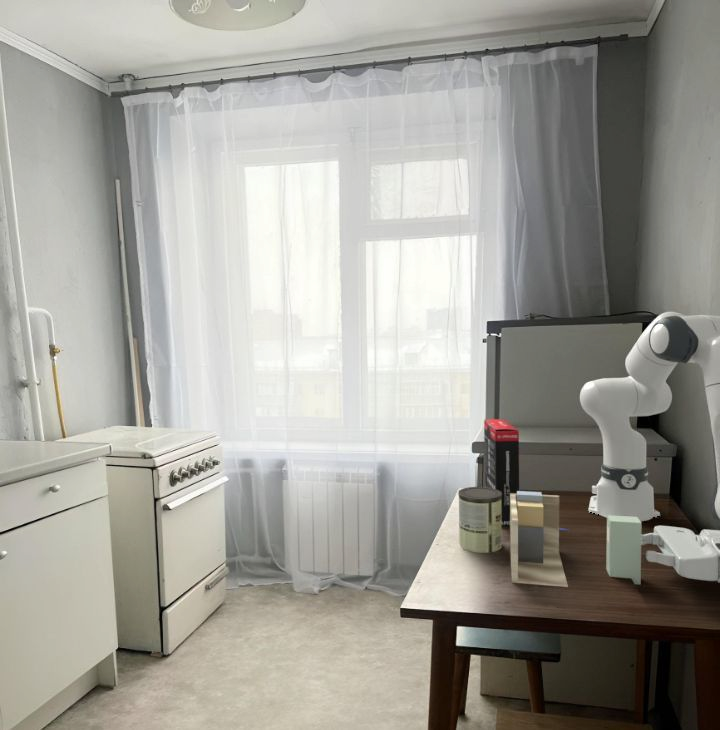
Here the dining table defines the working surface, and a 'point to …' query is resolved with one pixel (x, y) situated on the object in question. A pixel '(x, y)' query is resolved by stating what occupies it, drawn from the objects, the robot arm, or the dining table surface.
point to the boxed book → (624, 547)
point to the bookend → (530, 544)
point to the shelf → (552, 565)
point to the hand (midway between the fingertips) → (641, 547)
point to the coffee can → (480, 519)
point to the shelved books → (529, 509)
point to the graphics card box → (502, 461)
